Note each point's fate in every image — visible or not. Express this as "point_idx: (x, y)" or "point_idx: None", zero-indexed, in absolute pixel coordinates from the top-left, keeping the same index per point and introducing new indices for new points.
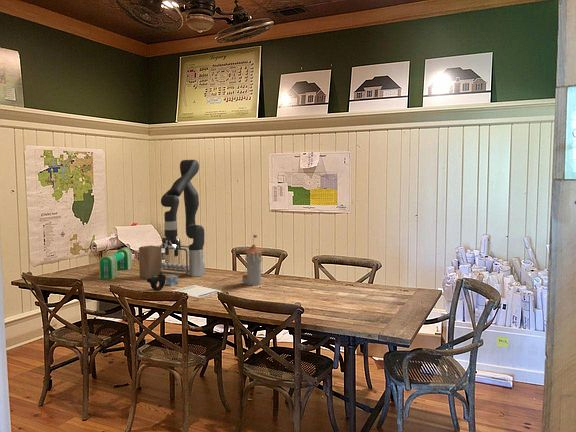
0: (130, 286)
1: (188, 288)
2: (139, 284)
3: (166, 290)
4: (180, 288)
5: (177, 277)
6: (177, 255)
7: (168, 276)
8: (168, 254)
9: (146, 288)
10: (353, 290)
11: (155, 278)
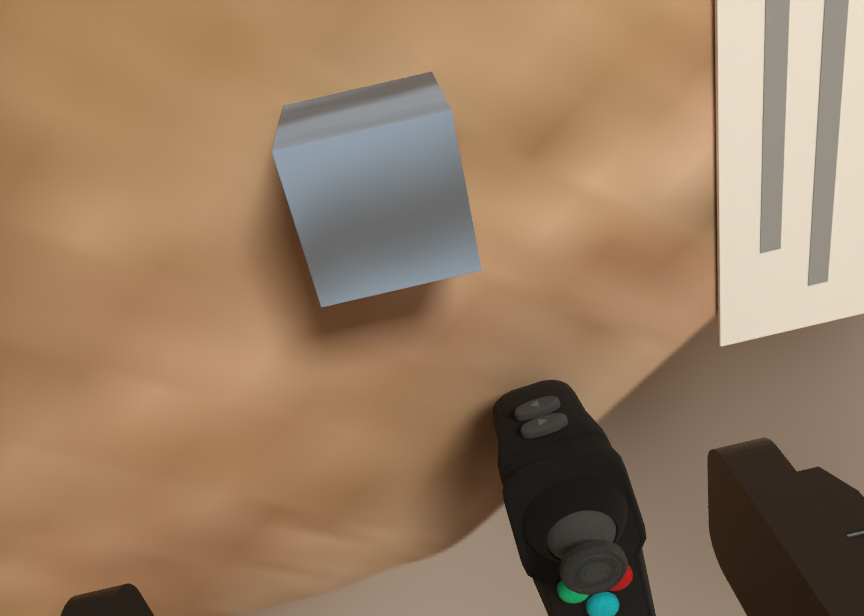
0: None
1: (832, 84)
2: (70, 508)
3: (642, 360)
4: (724, 181)
5: (452, 119)
6: (775, 467)
7: (324, 261)
8: (133, 594)
9: (361, 502)
10: None
11: (650, 607)
